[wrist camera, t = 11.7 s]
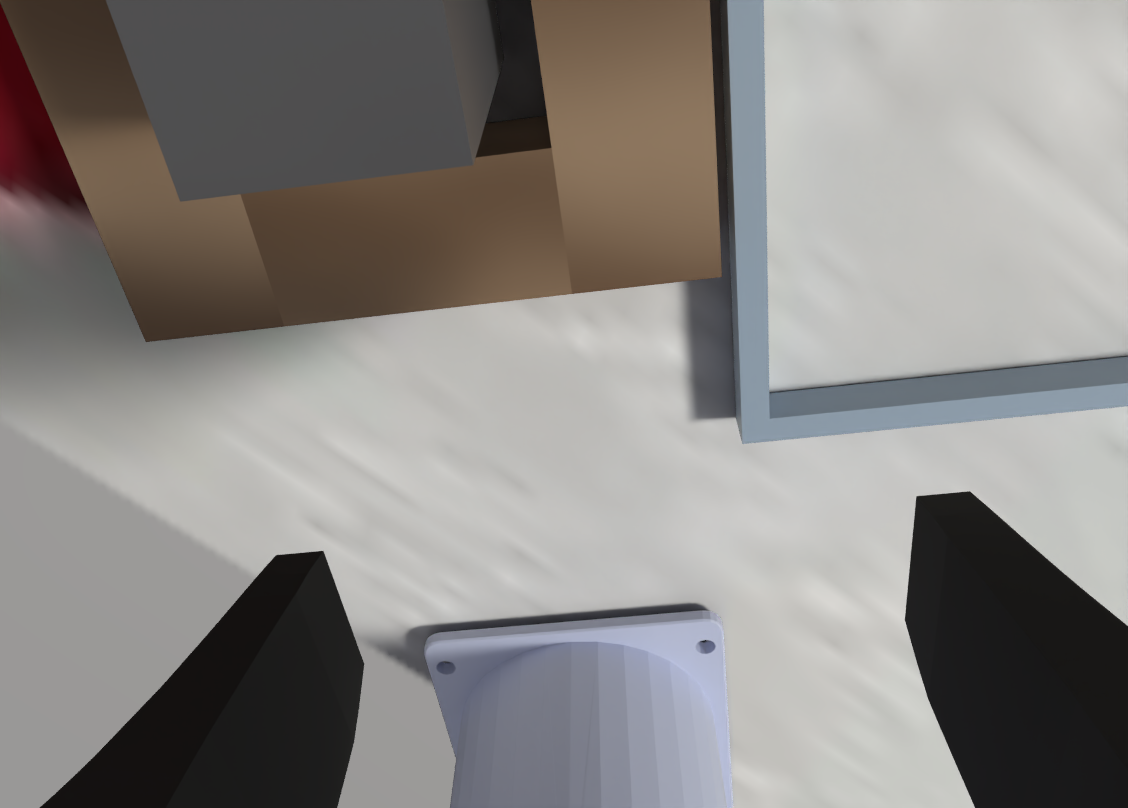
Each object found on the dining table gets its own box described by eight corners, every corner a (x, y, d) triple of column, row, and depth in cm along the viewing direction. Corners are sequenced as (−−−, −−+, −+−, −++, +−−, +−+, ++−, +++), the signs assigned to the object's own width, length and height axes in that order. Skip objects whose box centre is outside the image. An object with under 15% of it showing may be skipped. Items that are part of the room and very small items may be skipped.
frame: (1306, 361, 20) (1337, 385, 20) (736, 418, 21) (742, 443, 21) (1557, -360, 14) (1621, -370, 13) (711, -227, 15) (719, -229, 14)
